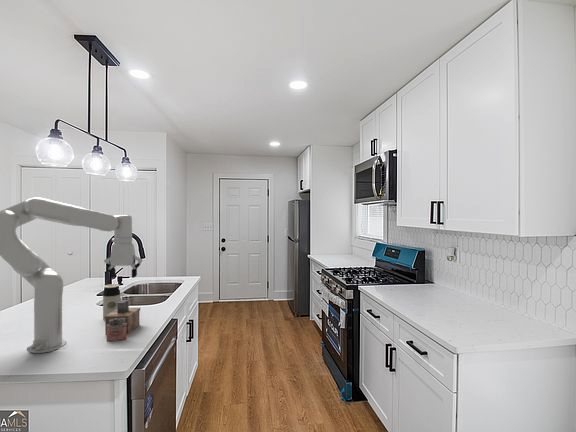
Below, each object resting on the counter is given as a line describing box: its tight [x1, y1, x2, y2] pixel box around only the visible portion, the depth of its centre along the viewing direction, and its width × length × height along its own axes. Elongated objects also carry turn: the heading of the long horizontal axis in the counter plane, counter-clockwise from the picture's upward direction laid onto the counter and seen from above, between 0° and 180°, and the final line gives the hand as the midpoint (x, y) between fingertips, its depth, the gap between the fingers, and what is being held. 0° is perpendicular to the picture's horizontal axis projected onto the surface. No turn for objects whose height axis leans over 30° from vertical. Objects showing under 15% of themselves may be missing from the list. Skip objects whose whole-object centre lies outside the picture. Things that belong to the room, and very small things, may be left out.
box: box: [104, 311, 140, 336], centre depth 161 cm, size 13×10×8 cm
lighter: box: [105, 318, 128, 343], centre depth 148 cm, size 8×3×10 cm, turn 105°
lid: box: [104, 299, 141, 319], centre depth 161 cm, size 14×11×6 cm
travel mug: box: [102, 283, 121, 321], centre depth 178 cm, size 8×8×18 cm
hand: (123, 277), depth 161 cm, fingers open, 9 cm apart
